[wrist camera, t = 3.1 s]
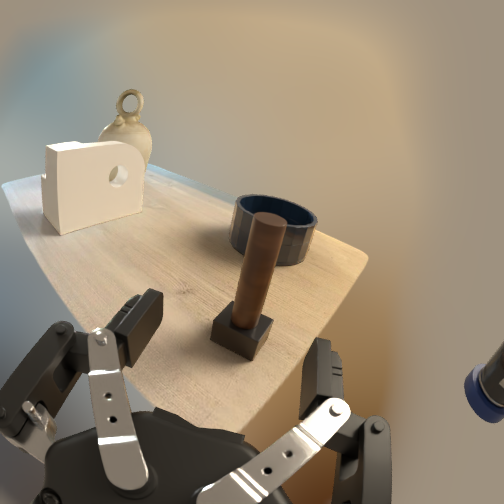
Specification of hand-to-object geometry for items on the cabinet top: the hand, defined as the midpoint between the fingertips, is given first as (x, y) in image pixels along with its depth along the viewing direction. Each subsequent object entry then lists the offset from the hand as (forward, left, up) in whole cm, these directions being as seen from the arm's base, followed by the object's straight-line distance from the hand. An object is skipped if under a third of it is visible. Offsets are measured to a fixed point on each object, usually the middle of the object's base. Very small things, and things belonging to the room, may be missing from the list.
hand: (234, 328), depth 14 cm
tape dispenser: (+41, -20, -12) cm, 47 cm away
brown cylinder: (+3, -11, -12) cm, 16 cm away
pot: (+9, -35, -12) cm, 38 cm away
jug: (+55, -40, -12) cm, 69 cm away
